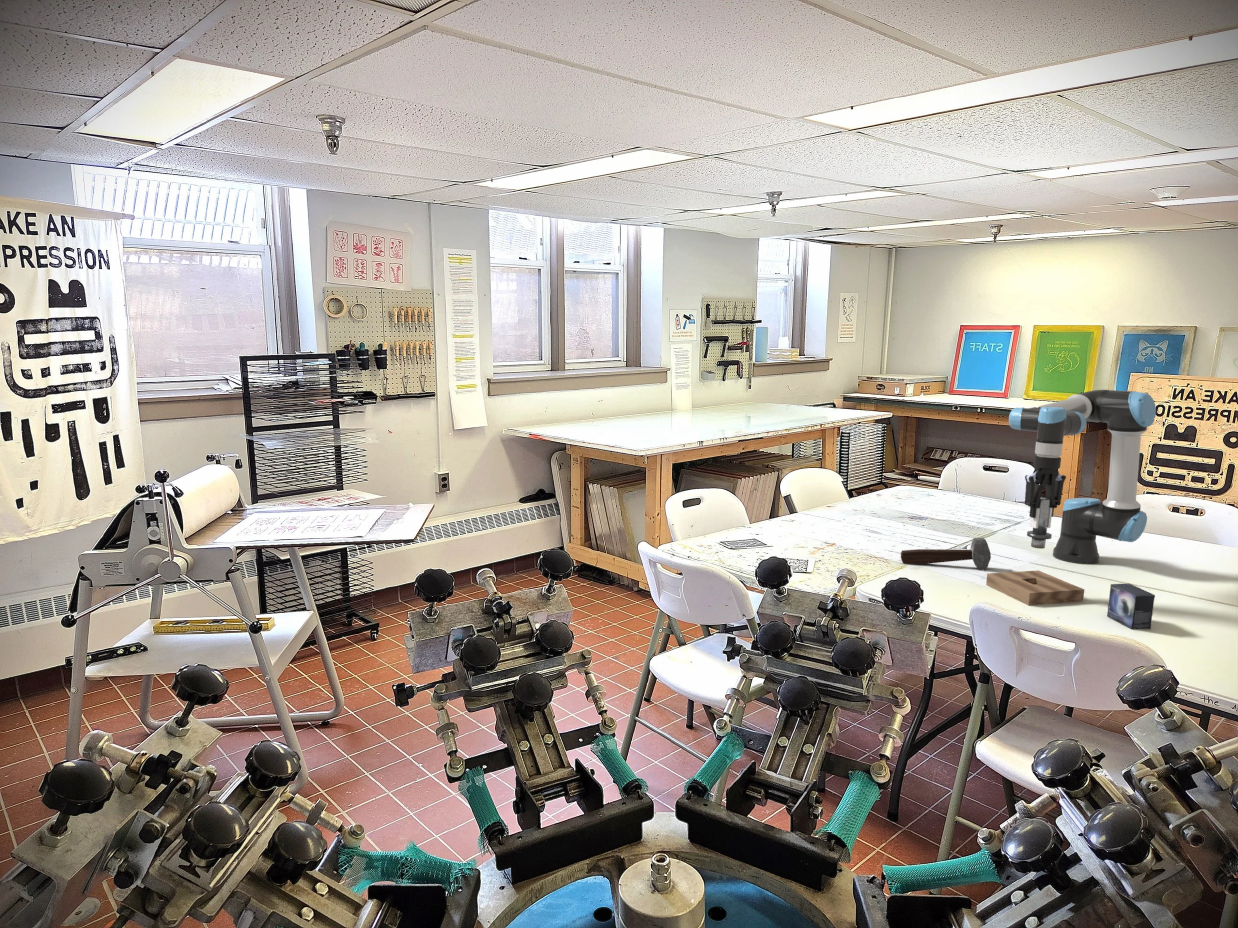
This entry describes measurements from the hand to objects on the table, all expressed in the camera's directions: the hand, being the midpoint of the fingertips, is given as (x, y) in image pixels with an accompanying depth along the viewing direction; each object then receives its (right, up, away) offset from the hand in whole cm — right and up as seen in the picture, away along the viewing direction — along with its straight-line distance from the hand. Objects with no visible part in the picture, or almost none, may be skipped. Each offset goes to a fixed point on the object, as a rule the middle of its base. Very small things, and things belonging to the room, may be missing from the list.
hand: (1040, 526), depth 250 cm
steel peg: (0, -7, +1) cm, 7 cm away
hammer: (-17, -17, +33) cm, 41 cm away
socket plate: (0, -22, +4) cm, 22 cm away
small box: (+14, -27, -21) cm, 37 cm away
